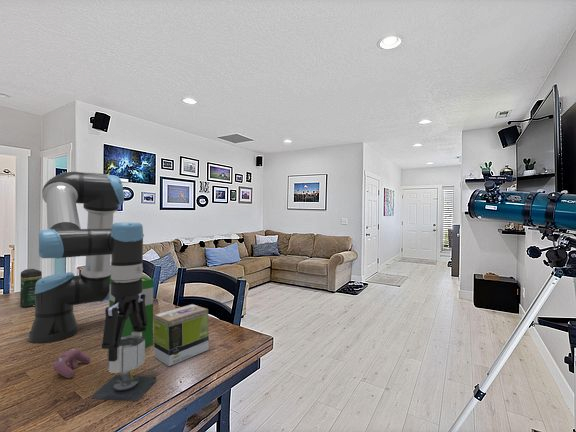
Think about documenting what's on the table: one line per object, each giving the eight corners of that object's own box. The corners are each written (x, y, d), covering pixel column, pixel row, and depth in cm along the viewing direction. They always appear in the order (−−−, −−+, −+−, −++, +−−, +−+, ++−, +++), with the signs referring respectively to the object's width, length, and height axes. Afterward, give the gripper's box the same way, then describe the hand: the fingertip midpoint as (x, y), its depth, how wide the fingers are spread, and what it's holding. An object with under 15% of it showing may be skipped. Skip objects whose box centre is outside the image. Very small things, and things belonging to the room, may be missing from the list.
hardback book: (109, 339, 111) (109, 276, 111) (129, 333, 117) (129, 273, 117) (132, 352, 100) (132, 282, 100) (152, 345, 106) (153, 279, 106)
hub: (100, 371, 75) (100, 348, 75) (121, 355, 84) (121, 334, 84) (131, 372, 75) (131, 349, 75) (149, 357, 83) (150, 336, 83)
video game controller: (79, 367, 93) (69, 348, 93) (93, 360, 94) (82, 341, 93) (58, 385, 83) (46, 363, 83) (73, 377, 84) (62, 356, 84)
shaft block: (93, 398, 75) (93, 358, 75) (116, 378, 84) (116, 343, 84) (137, 401, 74) (137, 361, 74) (156, 381, 83) (156, 345, 83)
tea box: (193, 342, 109) (193, 302, 109) (209, 350, 102) (209, 308, 102) (152, 357, 97) (153, 313, 97) (168, 367, 91) (168, 320, 91)
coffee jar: (43, 305, 151) (43, 269, 151) (22, 309, 144) (23, 271, 144) (38, 301, 157) (38, 267, 156) (18, 305, 150) (18, 269, 150)
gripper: (113, 289, 68) (113, 386, 68) (160, 272, 89) (159, 346, 89) (83, 288, 69) (82, 384, 69) (137, 271, 90) (136, 345, 90)
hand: (126, 362), depth 79 cm, fingers closed on hub, 8 cm apart
